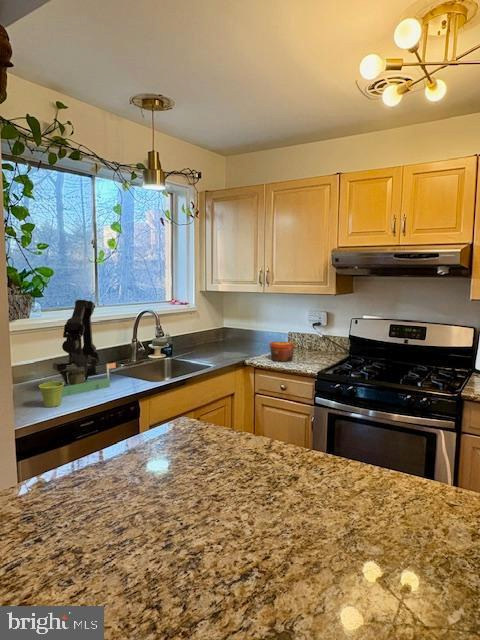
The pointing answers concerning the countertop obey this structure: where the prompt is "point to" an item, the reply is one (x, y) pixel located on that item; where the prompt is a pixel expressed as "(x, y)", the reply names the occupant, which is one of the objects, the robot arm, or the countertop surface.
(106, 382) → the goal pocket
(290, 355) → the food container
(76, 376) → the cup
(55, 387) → the plant pot
